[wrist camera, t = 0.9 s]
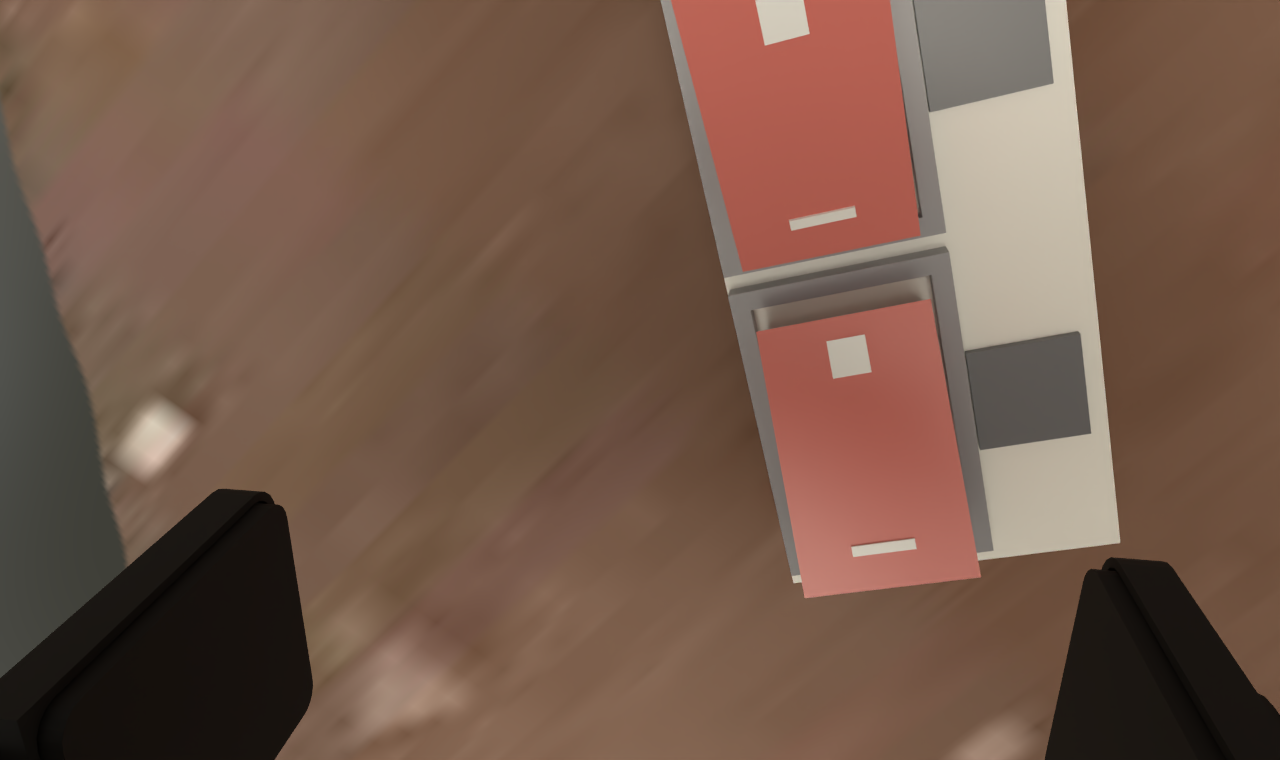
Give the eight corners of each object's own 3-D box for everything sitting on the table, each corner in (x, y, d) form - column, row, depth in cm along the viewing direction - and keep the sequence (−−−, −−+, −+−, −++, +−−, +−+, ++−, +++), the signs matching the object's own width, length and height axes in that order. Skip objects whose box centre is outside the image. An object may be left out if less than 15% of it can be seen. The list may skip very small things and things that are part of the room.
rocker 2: (924, 301, 30) (930, 298, 27) (969, 552, 30) (981, 578, 27) (766, 331, 31) (755, 331, 28) (810, 572, 31) (804, 599, 28)
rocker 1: (867, -96, 24) (881, -65, 21) (905, 185, 28) (920, 237, 26) (675, -40, 25) (669, -5, 23) (742, 221, 30) (742, 273, 27)
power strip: (993, -298, 28) (1036, -371, 23) (1080, 475, 36) (1127, 555, 31) (641, -182, 31) (605, -224, 25) (795, 516, 39) (793, 595, 33)
